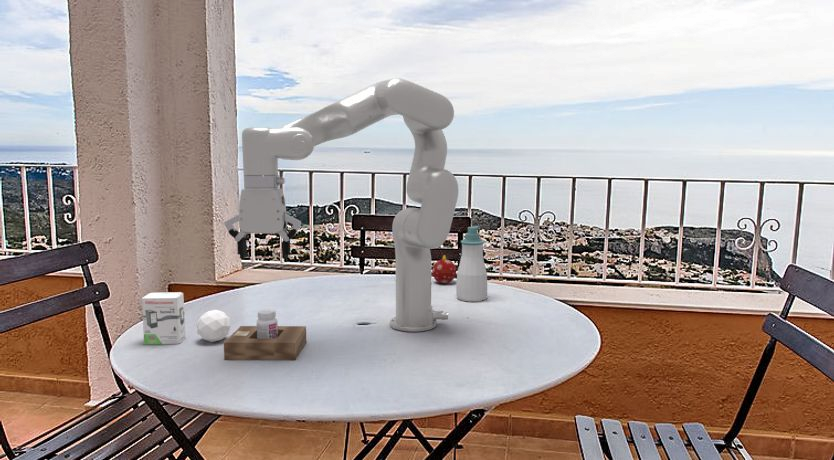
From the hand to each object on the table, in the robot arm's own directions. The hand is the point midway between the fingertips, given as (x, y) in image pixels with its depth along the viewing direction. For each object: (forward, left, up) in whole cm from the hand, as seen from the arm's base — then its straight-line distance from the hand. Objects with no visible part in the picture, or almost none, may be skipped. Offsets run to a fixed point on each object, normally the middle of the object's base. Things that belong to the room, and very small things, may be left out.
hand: (264, 257), depth 129 cm
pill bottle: (0, 0, -21) cm, 21 cm away
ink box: (+27, -6, -22) cm, 36 cm away
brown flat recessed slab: (0, 0, -22) cm, 22 cm away
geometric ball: (+15, -7, -22) cm, 28 cm away
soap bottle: (-52, -48, -22) cm, 74 cm away
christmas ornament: (-44, -69, -22) cm, 85 cm away
